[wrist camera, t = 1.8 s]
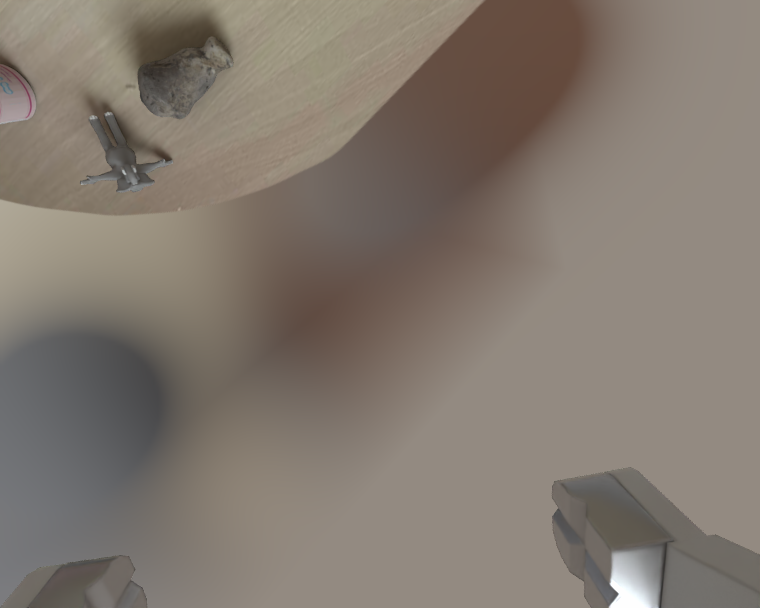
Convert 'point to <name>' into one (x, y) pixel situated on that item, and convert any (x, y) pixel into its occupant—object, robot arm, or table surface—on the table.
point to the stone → (182, 78)
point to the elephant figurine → (121, 159)
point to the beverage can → (15, 96)
